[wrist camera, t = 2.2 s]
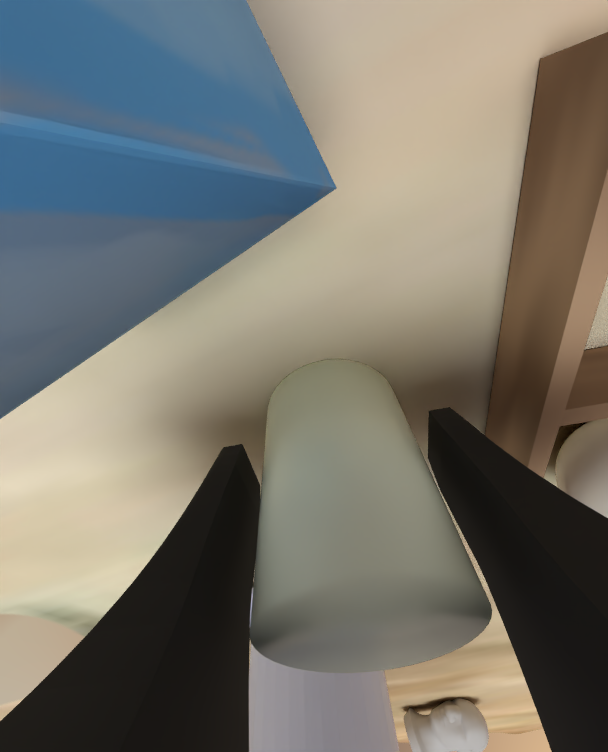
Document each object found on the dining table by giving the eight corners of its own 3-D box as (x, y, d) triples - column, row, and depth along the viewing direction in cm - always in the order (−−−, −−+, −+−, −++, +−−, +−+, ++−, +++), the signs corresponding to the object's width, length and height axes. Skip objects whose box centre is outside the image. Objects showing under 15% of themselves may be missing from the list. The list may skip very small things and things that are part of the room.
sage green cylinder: (398, 447, 13) (479, 658, 7) (284, 467, 13) (281, 682, 8) (392, 346, 10) (508, 554, 5) (251, 374, 11) (214, 596, 5)
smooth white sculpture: (474, 678, 34) (474, 711, 35) (398, 688, 34) (400, 720, 36) (499, 733, 30) (497, 768, 31) (412, 744, 30) (414, 778, 31)
